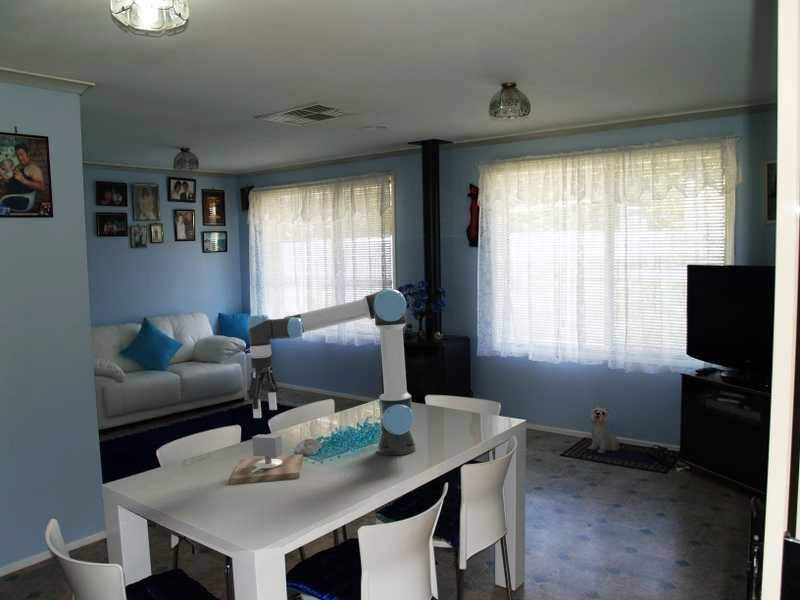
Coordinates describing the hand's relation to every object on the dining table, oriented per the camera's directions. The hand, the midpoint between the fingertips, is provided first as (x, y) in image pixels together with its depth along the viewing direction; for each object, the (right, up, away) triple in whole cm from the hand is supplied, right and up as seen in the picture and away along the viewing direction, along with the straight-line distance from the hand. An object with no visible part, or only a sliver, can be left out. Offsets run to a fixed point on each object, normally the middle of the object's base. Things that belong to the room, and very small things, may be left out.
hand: (265, 413), depth 235 cm
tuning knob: (0, -19, -2) cm, 19 cm away
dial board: (+1, -21, +1) cm, 22 cm away
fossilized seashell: (+13, -21, +23) cm, 34 cm away
